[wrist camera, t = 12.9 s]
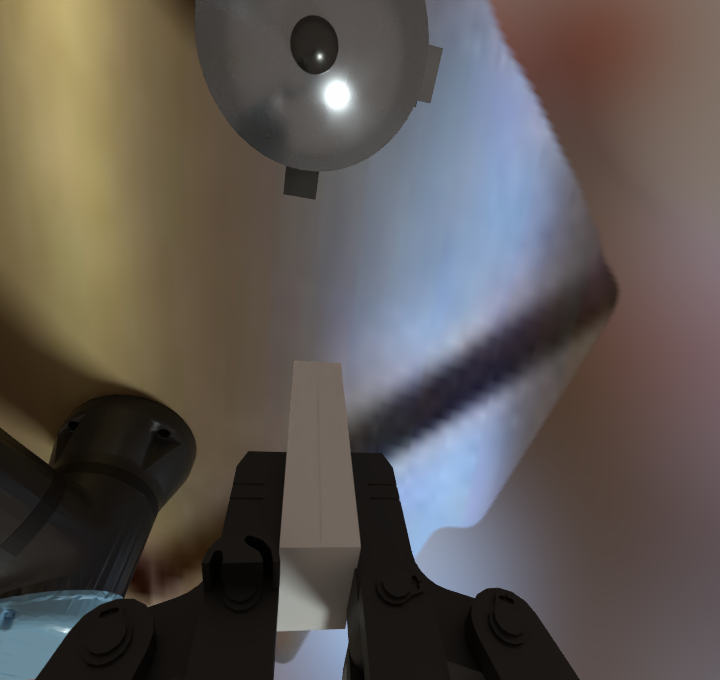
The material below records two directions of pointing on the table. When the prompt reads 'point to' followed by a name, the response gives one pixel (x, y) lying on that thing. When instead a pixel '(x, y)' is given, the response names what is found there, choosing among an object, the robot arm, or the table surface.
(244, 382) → the table surface
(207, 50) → the lid
